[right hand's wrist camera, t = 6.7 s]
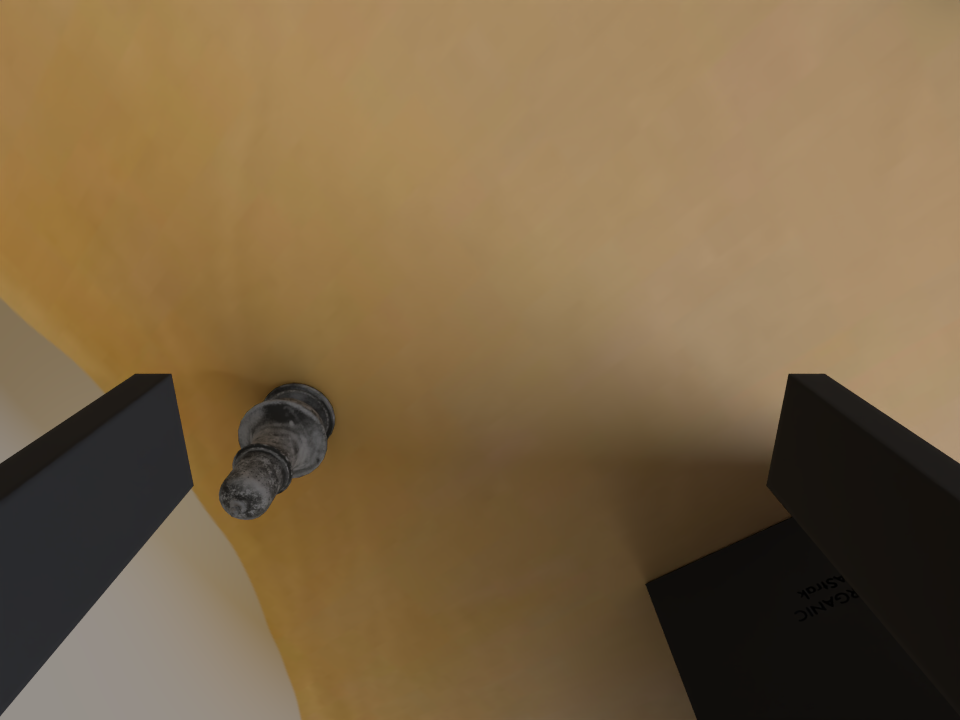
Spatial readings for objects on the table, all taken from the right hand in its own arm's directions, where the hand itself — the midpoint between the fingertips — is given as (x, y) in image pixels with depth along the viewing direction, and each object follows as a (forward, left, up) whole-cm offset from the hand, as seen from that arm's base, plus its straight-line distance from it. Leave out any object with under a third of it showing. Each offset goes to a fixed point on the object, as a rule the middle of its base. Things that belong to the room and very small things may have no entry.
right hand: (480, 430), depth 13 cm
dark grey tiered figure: (+15, -11, -27) cm, 32 cm away
